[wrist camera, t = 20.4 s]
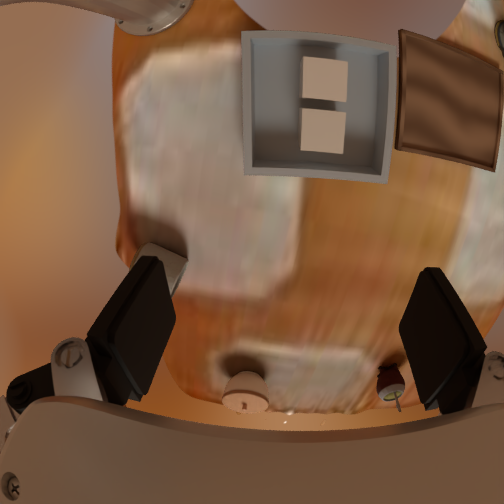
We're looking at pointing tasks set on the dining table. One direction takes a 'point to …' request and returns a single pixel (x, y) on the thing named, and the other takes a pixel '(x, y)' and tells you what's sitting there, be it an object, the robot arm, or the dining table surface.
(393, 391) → the mate gourd
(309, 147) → the stone
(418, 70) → the walnut tray
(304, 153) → the tub
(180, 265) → the ceramic mug
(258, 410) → the lidded jar
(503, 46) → the apothecary jar
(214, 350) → the dining table surface
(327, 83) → the beige block
